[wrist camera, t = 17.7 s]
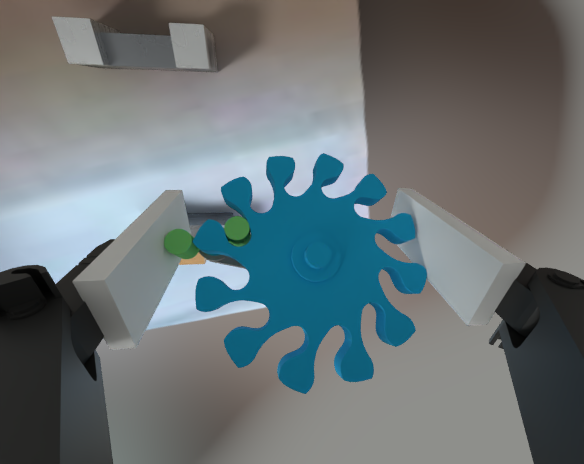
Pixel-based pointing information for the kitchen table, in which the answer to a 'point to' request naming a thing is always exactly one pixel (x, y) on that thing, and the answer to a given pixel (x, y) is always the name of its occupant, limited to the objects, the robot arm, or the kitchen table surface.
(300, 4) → the kitchen table surface
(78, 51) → the support blocks
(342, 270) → the gear
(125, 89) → the kitchen table surface
